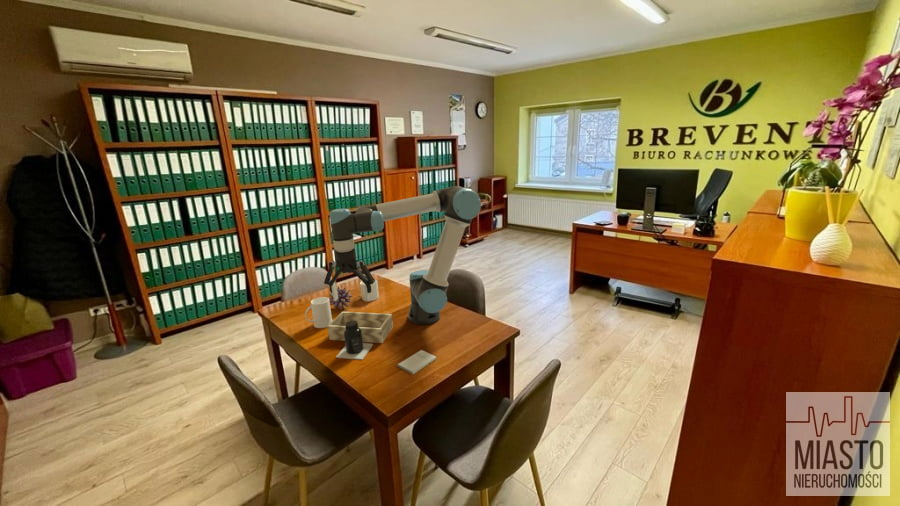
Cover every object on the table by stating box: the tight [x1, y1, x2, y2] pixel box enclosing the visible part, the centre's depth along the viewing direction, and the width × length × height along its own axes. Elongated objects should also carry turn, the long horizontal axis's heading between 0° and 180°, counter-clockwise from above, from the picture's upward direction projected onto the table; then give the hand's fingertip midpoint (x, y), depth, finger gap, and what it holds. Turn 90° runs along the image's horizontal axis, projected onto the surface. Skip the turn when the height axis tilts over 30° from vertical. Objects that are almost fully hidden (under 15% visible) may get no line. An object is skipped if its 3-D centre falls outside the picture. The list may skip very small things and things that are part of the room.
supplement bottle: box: [344, 321, 364, 354], centre depth 143 cm, size 7×7×12 cm
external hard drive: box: [397, 349, 437, 375], centre depth 136 cm, size 2×8×12 cm
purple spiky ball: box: [328, 285, 353, 310], centre depth 182 cm, size 12×12×12 cm
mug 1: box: [304, 296, 333, 329], centre depth 166 cm, size 12×8×12 cm
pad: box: [335, 342, 374, 361], centre depth 145 cm, size 11×11×1 cm
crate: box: [326, 311, 394, 344], centre depth 158 cm, size 24×14×6 cm, turn 80°
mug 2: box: [359, 278, 380, 302], centre depth 195 cm, size 12×9×9 cm
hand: (352, 300), depth 144 cm, fingers open, 13 cm apart
